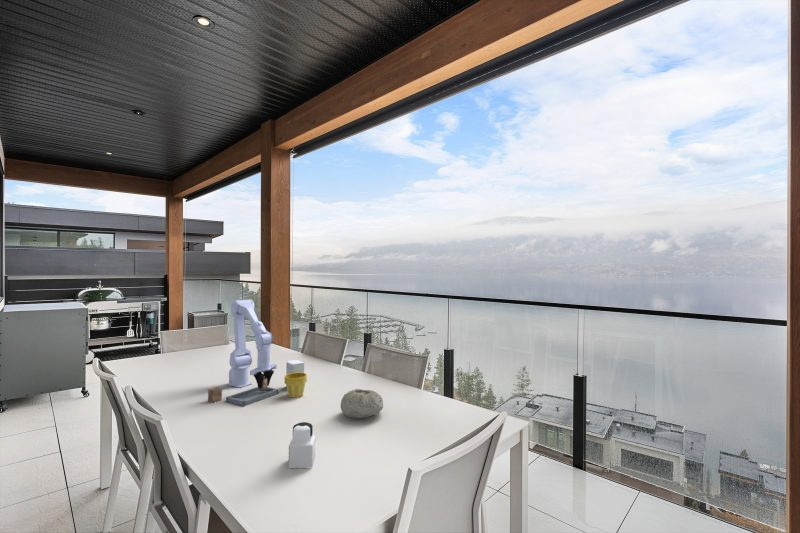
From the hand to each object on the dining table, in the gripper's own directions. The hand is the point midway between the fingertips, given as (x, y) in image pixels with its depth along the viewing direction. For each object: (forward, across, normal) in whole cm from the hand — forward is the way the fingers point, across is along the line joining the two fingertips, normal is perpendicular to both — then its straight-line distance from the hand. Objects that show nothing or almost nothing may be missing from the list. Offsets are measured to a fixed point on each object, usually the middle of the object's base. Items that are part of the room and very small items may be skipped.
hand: (263, 386), depth 186 cm
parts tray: (+3, -6, 0) cm, 7 cm away
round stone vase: (+4, +2, -56) cm, 56 cm away
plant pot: (+4, +6, -15) cm, 17 cm away
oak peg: (+2, 0, 0) cm, 2 cm away
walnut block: (+3, -18, +11) cm, 21 cm away
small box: (+4, +15, -6) cm, 17 cm away
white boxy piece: (+4, -40, -62) cm, 74 cm away
